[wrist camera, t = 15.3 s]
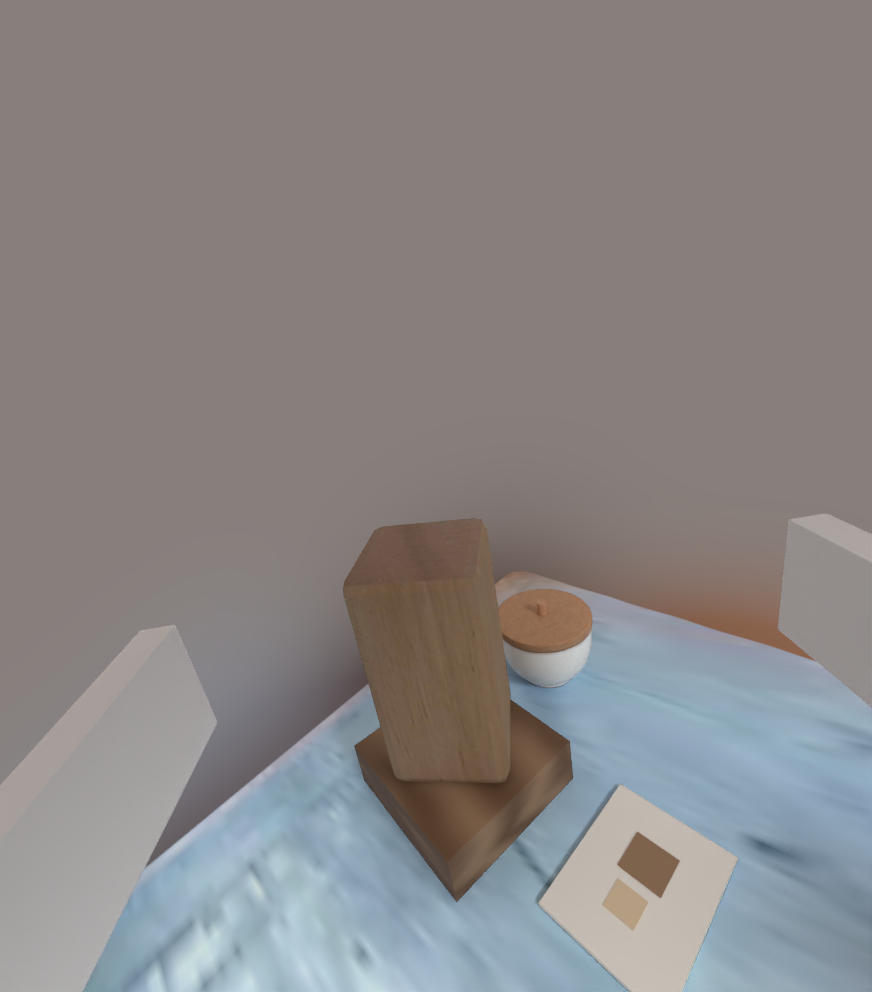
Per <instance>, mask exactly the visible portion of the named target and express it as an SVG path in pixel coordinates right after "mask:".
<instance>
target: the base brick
mask: <svg viewBox="0 0 872 992" xmlns="http://www.w3.org/2000/svg"><path fill="white" fill-rule="evenodd" d="M354 747H355V750H356V754H357V757H358V760H359V764H360V767H361V770H362V774H363V777H364V780H365V782H366V783H367V784H368V786H369V787H370V788H371V790H372V791H373V792H374V794H375V795H376V796H377V797H378V799H379V800H380V801H381V803H382V804H383V805H384V807H385V808H386V809H387V811H388V812H389V813H390V815H391V816H392V817H393V819H394V820H395V821H396V823H397V824H398V825H399V827H400V828H401V829H402V830H403V832H404V833H405V834H406V836H407V837H408V838H409V840H410V841H411V842H412V844H413V845H414V846H415V848H416V849H417V850H418V852H419V853H420V854H421V856H422V857H423V858H424V859H425V861H426V862H427V863H428V865H429V866H430V867H431V869H432V870H433V871H434V873H435V874H436V875H437V877H438V878H439V879H440V881H441V882H442V883H443V885H444V886H445V887H446V889H447V890H448V891H449V892H450V894H451V895H452V896H453V898H454V899H455V900H456V902H457V901H458V900H459V899H460V898H461V897H462V896H463V895H464V894H465V893H466V892H467V891H468V890H469V888H470V887H471V886H472V885H473V884H474V883H475V882H476V881H477V880H478V879H479V878H480V877H481V876H482V875H483V874H484V872H485V871H486V870H487V869H488V868H489V867H490V866H491V865H492V864H493V863H494V862H495V861H496V860H497V859H498V858H499V856H500V855H501V854H502V853H503V852H504V851H505V850H506V849H507V848H508V847H509V846H510V845H511V844H512V843H513V842H514V841H515V839H516V838H517V837H518V836H519V835H520V834H521V833H522V832H523V831H524V830H525V829H526V828H527V827H528V826H529V825H530V823H531V822H532V821H533V820H534V819H535V818H536V817H537V816H538V815H539V814H540V813H541V812H542V811H543V810H544V809H545V807H546V806H547V805H548V804H549V803H550V802H551V801H552V800H553V799H554V798H555V797H556V796H557V795H558V794H559V793H560V792H561V790H562V789H563V788H564V787H565V786H566V785H567V784H568V783H569V782H570V781H571V780H572V779H573V774H572V762H571V750H570V741H568V740H567V739H566V738H564V737H563V736H561V735H560V734H558V733H557V732H556V731H554V730H553V729H551V728H550V727H549V726H547V725H546V724H544V723H543V722H541V721H540V720H539V719H537V718H536V717H534V716H533V715H532V714H530V713H529V712H527V711H526V710H524V709H523V708H522V707H520V706H519V705H517V704H516V703H514V702H513V701H512V700H510V771H509V774H508V776H507V779H506V781H504V782H501V783H461V782H412V781H402V780H400V779H397V778H396V776H395V775H394V772H393V768H392V765H391V761H390V758H389V754H388V751H387V747H386V744H385V740H384V736H383V733H382V729H381V727H380V728H379V729H377V730H376V731H375V732H373V733H372V734H370V735H369V736H368V737H366V738H365V739H363V740H362V741H361V742H359V743H358V744H356V745H355V746H354Z"/></svg>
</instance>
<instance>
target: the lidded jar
mask: <svg viewBox="0 0 872 992" xmlns="http://www.w3.org/2000/svg"><path fill="white" fill-rule="evenodd" d="M498 611H499V618H500V625H501V632H502V639H503V646H504V653H505V658H506V660H507V662H508V663H509V665H510V666H511V667H512V669H513V670H514V671H515V672H516V673H517V674H518V675H520V676H521V677H522V678H524V679H526V680H528V681H529V682H530V683H532V684H534V685H536V686H539V687H545V688H553V687H559V686H562V685H564V684H566V683H567V682H569V681H570V680H571V679H572V678H574V677H575V676H576V675H578V674H579V672H580V671H581V670H582V669H583V668H584V666H585V664H586V662H587V660H588V658H589V654H590V650H591V643H592V613H591V610H590V608H589V607H588V606H587V604H586V603H585V602H584V601H583V600H581V599H580V598H578V597H577V596H575V595H573V594H571V593H567V592H564V591H560V590H554V589H535V590H529V591H525V592H521V593H518V594H516V595H514V596H512V597H510V598H508V599H507V600H506V601H504V602H503V603H502V604H501V605H500V607H499V608H498Z"/></svg>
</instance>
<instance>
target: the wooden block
mask: <svg viewBox="0 0 872 992" xmlns="http://www.w3.org/2000/svg"><path fill="white" fill-rule="evenodd" d="M343 593H344V598H345V601H346V605H347V608H348V612H349V616H350V619H351V623H352V626H353V630H354V633H355V637H356V640H357V644H358V648H359V651H360V655H361V658H362V662H363V665H364V669H365V672H366V676H367V680H368V683H369V687H370V690H371V694H372V697H373V701H374V704H375V708H376V712H377V715H378V719H379V722H380V726H381V729H382V733H383V736H384V740H385V744H386V747H387V751H388V754H389V758H390V761H391V765H392V768H393V772H394V775H395V776H396V778H397V779H400V780H402V781H412V782H461V783H501V782H504V781H506V779H507V776H508V774H509V771H510V688H509V681H508V674H507V667H506V660H505V653H504V646H503V639H502V632H501V625H500V618H499V611H498V604H497V597H496V590H495V583H494V577H493V569H492V562H491V555H490V548H489V542H488V535H487V528H486V527H485V525H484V523H483V522H482V520H480V519H475V518H472V519H460V520H449V521H438V522H428V523H417V524H406V525H395V526H385V527H381V528H379V529H377V530H375V531H374V532H373V534H372V536H371V538H370V539H369V541H368V543H367V544H366V546H365V548H364V549H363V551H362V553H361V554H360V556H359V558H358V559H357V561H356V563H355V564H354V566H353V568H352V569H351V571H350V573H349V575H348V576H347V578H346V580H345V582H344V588H343Z"/></svg>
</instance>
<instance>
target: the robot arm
mask: <svg viewBox="0 0 872 992" xmlns="http://www.w3.org/2000/svg"><path fill="white" fill-rule="evenodd" d="M778 624H779V625H778V630H780V631H781V632H782V633H783V634H784V635H786V636H787V637H788V638H789V639H791V640H792V641H793V642H794V643H795V644H796V645H798V646H799V647H800V648H801V649H802V650H804V651H805V652H806V653H807V654H808V655H810V656H811V657H812V658H813V659H815V660H816V661H817V662H818V663H819V664H820V665H822V666H823V667H824V668H825V669H826V670H828V671H829V672H830V673H831V674H832V675H834V676H835V677H836V678H837V679H838V680H840V681H841V682H842V683H843V684H844V685H846V686H847V687H848V688H849V689H850V690H852V691H853V692H854V693H855V694H856V695H858V696H859V697H860V698H861V699H862V700H863V701H865V702H866V703H867V704H868V705H869V706H871V707H872V534H870V533H868V532H865V531H863V530H861V529H859V528H857V527H854V526H852V525H850V524H848V523H846V522H843V521H841V520H839V519H837V518H835V517H833V516H830V515H828V514H826V513H825V514H819V515H814V516H807V517H802V518H796V519H790V520H789V523H788V534H787V543H786V554H785V563H784V573H783V583H782V594H781V604H780V614H779V623H778ZM216 724H217V720H216V718H215V716H214V713H213V711H212V709H211V706H210V704H209V702H208V699H207V697H206V695H205V692H204V690H203V688H202V686H201V683H200V681H199V679H198V676H197V674H196V672H195V670H194V667H193V665H192V663H191V660H190V658H189V656H188V653H187V651H186V649H185V646H184V644H183V642H182V639H181V637H180V635H179V632H178V630H177V628H176V625H170V626H164V627H158V628H152V629H146V630H141V631H139V632H138V634H137V635H136V636H135V637H134V638H133V639H132V640H131V641H130V642H129V643H128V645H127V646H126V647H125V648H124V649H123V650H122V651H121V652H120V653H119V655H118V656H117V657H116V658H115V659H114V660H113V661H112V662H111V663H110V664H109V666H108V667H107V668H106V669H105V670H104V671H103V672H102V674H100V676H99V677H98V678H97V679H96V680H95V681H94V682H93V683H92V684H91V686H90V687H89V688H88V689H87V690H86V691H85V692H84V693H83V694H82V695H81V696H80V698H79V699H78V700H77V701H76V702H75V703H74V704H73V705H72V707H71V708H70V709H69V710H68V711H67V712H66V713H65V714H64V715H63V716H62V717H61V719H60V720H59V721H58V722H57V723H56V724H55V725H54V726H53V727H52V729H51V730H50V731H49V732H48V733H47V734H46V735H45V736H44V737H43V738H42V740H41V741H40V742H39V743H38V744H37V745H36V746H35V747H34V749H33V750H32V751H31V752H30V753H29V754H28V755H27V756H26V757H25V758H24V759H23V761H22V762H21V763H20V764H19V765H18V766H17V767H16V768H15V769H14V770H13V772H12V773H11V774H10V775H9V776H8V777H7V778H6V779H5V780H4V782H3V783H2V784H1V785H0V992H83V990H84V988H85V986H86V984H87V982H88V980H89V978H90V976H91V974H92V972H93V970H94V968H95V966H96V964H97V962H98V960H99V958H100V956H101V954H102V952H103V950H104V948H105V946H106V944H107V942H108V940H109V938H110V936H111V934H112V932H113V930H114V928H115V926H116V924H117V922H118V920H119V918H120V916H121V914H122V912H123V910H124V908H125V906H126V904H127V902H128V900H129V898H130V896H131V894H132V892H133V890H134V888H135V886H136V884H137V882H138V880H139V878H140V876H141V874H142V872H143V870H144V868H145V866H146V864H147V862H148V860H149V858H150V856H151V854H152V852H153V850H154V848H155V846H156V844H157V842H158V840H159V838H160V836H161V834H162V832H163V830H164V828H165V826H166V824H167V822H168V820H169V818H170V816H171V814H172V812H173V810H174V808H175V806H176V804H177V802H178V800H179V798H180V796H181V794H182V792H183V790H184V788H185V786H186V784H187V782H188V780H189V778H190V776H191V774H192V772H193V770H194V768H195V766H196V764H197V762H198V760H199V758H200V756H201V754H202V752H203V750H204V748H205V746H206V744H207V742H208V740H209V738H210V736H211V734H212V732H213V730H214V728H215V726H216Z"/></svg>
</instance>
